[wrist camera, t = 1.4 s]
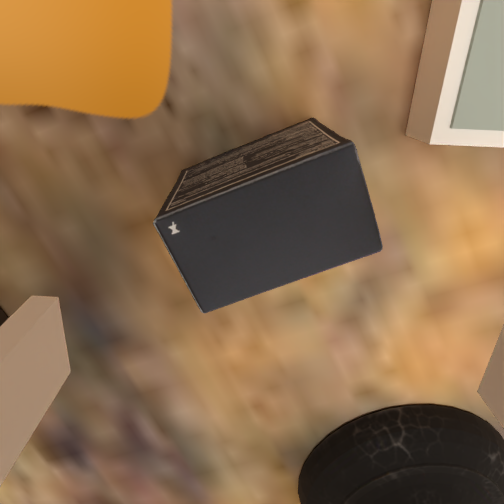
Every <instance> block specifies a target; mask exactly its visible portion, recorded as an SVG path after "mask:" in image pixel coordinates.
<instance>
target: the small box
mask: <svg viewBox="0 0 504 504" xmlns="http://www.w3.org/2000/svg"><path fill="white" fill-rule="evenodd" d="M153 225H154V226H155V228H156V230H157V231H158V233H159V235H160V237H161V239H162V240H163V242H164V244H165V246H166V248H167V250H168V252H169V254H170V255H171V257H172V259H173V261H174V263H175V264H176V266H177V268H178V270H179V272H180V274H181V276H182V277H183V279H184V281H185V283H186V285H187V287H188V289H189V290H190V292H191V294H192V296H193V298H194V300H195V301H196V303H197V305H198V307H199V309H200V311H201V312H202V313H207V312H210V311H213V310H215V309H218V308H221V307H224V306H227V305H230V304H233V303H235V302H238V301H241V300H244V299H246V298H249V297H252V296H255V295H258V294H260V293H263V292H266V291H269V290H272V289H274V288H277V287H280V286H283V285H286V284H288V283H291V282H294V281H297V280H300V279H303V278H306V277H308V276H311V275H314V274H317V273H320V272H323V271H326V270H328V269H331V268H334V267H337V266H340V265H343V264H346V263H348V262H351V261H354V260H357V259H360V258H363V257H366V256H369V255H372V254H374V253H377V252H380V251H381V250H382V248H383V247H382V242H381V238H380V233H379V229H378V226H377V222H376V219H375V214H374V211H373V207H372V203H371V200H370V196H369V193H368V189H367V185H366V181H365V178H364V175H363V171H362V168H361V164H360V160H359V157H358V153H357V149H356V147H355V144H354V143H353V142H352V141H351V140H348V139H345V138H343V137H341V136H339V135H338V134H336V133H335V132H334V131H332V130H330V129H329V128H327V127H326V126H324V125H323V124H321V123H319V122H318V121H317V120H316V119H315V118H311V119H309V120H306V121H304V122H301V123H298V124H296V125H293V126H291V127H288V128H286V129H283V130H281V131H278V132H276V133H273V134H271V135H267V136H266V137H263V138H261V139H258V140H256V141H253V142H251V143H249V144H246V145H243V146H241V147H238V148H236V149H232V150H230V151H228V152H225V153H223V154H221V155H218V156H216V157H213V158H211V159H209V160H206V161H204V162H202V163H199V164H197V165H195V166H192V167H190V168H187V169H184V170H182V171H181V173H180V176H179V178H178V180H177V182H176V184H175V186H174V187H173V189H172V191H171V192H170V194H169V196H168V197H167V199H166V201H165V202H164V204H163V206H162V208H161V210H160V211H159V213H158V215H157V217H156V218H155V219H154V222H153Z"/></svg>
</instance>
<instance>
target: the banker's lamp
mask: <svg viewBox="0 0 504 504" xmlns="http://www.w3.org/2000/svg"><path fill="white" fill-rule="evenodd" d="M298 494H299V498H300V502H301V504H504V440H503V438H502V436H501V435H500V434H499V433H498V432H497V431H496V430H495V429H494V428H493V427H492V426H491V425H490V424H489V423H487V422H486V421H484V420H482V419H480V418H479V417H477V416H475V415H473V414H470V413H467V412H464V411H461V410H458V409H455V408H449V407H442V406H435V405H410V406H403V407H397V408H391V409H385V410H382V411H379V412H376V413H372V414H369V415H366V416H363V417H361V418H359V419H357V420H355V421H353V422H351V423H348V424H346V425H344V426H343V427H341V428H340V429H338V430H337V431H335V432H334V433H332V434H331V435H329V436H328V437H327V438H326V439H325V440H324V441H323V442H322V443H321V444H319V445H318V446H317V447H316V448H315V449H314V450H313V452H312V453H311V455H310V456H309V458H308V459H307V461H306V462H305V464H304V466H303V469H302V472H301V474H300V477H299V486H298Z"/></svg>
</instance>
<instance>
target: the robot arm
mask: <svg viewBox="0 0 504 504" xmlns="http://www.w3.org/2000/svg"><path fill="white" fill-rule="evenodd" d="M70 372H71V370H70V364H69V358H68V352H67V346H66V340H65V334H64V328H63V322H62V316H61V310H60V304H59V298H58V297H49V296H31V297H30V298H29V299H28V300H27V301H26V302H25V303H23V304H22V305H21V306H20V307H19V308H18V309H17V310H16V311H15V312H14V313H13V314H12V315H11V316H10V317H9V318H8V317H7V316H6V315H5V313H4V312H3V311H2V310H1V309H0V486H1V484H2V483H3V481H4V480H5V478H6V476H7V475H8V473H9V471H10V470H11V468H12V467H13V465H14V463H15V462H16V460H17V458H18V457H19V455H20V454H21V452H22V450H23V449H24V447H25V445H26V444H27V442H28V441H29V439H30V437H31V436H32V434H33V432H34V431H35V429H36V428H37V426H38V424H39V423H40V421H41V419H42V418H43V416H44V415H45V413H46V411H47V410H48V408H49V406H50V405H51V403H52V402H53V400H54V398H55V397H56V395H57V393H58V392H59V390H60V389H61V387H62V385H63V384H64V382H65V380H66V379H67V377H68V376H69V374H70ZM477 392H478V393H479V395H480V396H481V397H482V399H483V400H484V402H485V403H486V404H487V406H488V407H489V409H490V410H491V411H492V413H493V414H494V416H495V417H496V418H497V420H498V421H499V423H500V424H501V425H502V427H503V428H504V325H503V328H502V330H501V333H500V335H499V338H498V340H497V343H496V345H495V348H494V350H493V353H492V356H491V358H490V361H489V363H488V366H487V368H486V371H485V373H484V376H483V378H482V381H481V384H480V386H479V389H478V391H477Z"/></svg>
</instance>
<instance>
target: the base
mask: <svg viewBox="0 0 504 504" xmlns="http://www.w3.org/2000/svg"><path fill="white" fill-rule="evenodd" d="M405 135H406V136H409V137H411V138H414V139H417V140H420V141H422V142H425V143H428V144H438V145H461V146H484V147H504V0H432V3H431V8H430V13H429V18H428V23H427V28H426V33H425V38H424V43H423V48H422V53H421V58H420V63H419V68H418V73H417V78H416V83H415V88H414V93H413V98H412V104H411V109H410V114H409V119H408V124H407V129H406V134H405Z"/></svg>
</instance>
